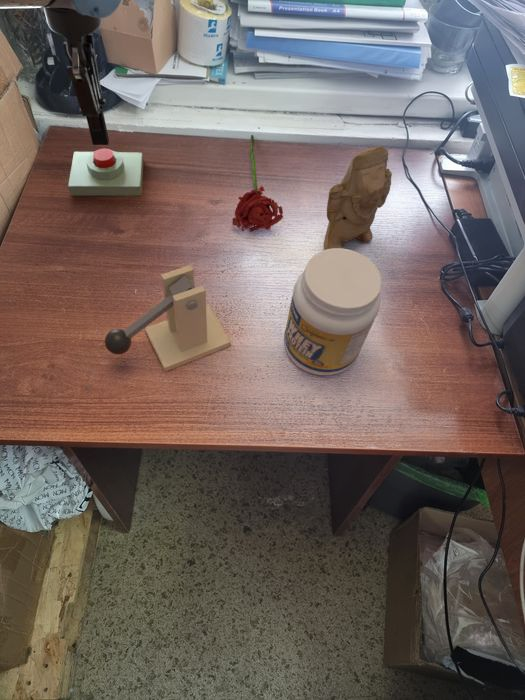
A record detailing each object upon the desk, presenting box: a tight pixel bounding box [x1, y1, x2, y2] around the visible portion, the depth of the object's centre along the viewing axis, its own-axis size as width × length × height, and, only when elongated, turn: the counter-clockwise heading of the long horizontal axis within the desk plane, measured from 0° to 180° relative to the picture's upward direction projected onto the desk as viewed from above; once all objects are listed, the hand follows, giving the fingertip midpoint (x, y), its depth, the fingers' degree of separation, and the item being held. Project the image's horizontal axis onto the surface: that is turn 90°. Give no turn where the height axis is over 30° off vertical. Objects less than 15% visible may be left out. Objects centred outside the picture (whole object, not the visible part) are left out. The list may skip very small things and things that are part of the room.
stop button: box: [93, 147, 115, 168], centre depth 94 cm, size 4×4×2 cm
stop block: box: [67, 149, 144, 197], centre depth 96 cm, size 13×10×4 cm
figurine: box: [323, 145, 393, 250], centre depth 85 cm, size 13×7×20 cm, turn 118°
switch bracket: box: [144, 264, 232, 373], centre depth 74 cm, size 11×8×14 cm
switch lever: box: [104, 276, 197, 355], centre depth 70 cm, size 15×4×4 cm, turn 118°
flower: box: [231, 134, 284, 233], centre depth 99 cm, size 9×10×30 cm
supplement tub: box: [283, 247, 382, 376], centre depth 74 cm, size 12×12×17 cm
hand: (100, 142), depth 91 cm, fingers closed
